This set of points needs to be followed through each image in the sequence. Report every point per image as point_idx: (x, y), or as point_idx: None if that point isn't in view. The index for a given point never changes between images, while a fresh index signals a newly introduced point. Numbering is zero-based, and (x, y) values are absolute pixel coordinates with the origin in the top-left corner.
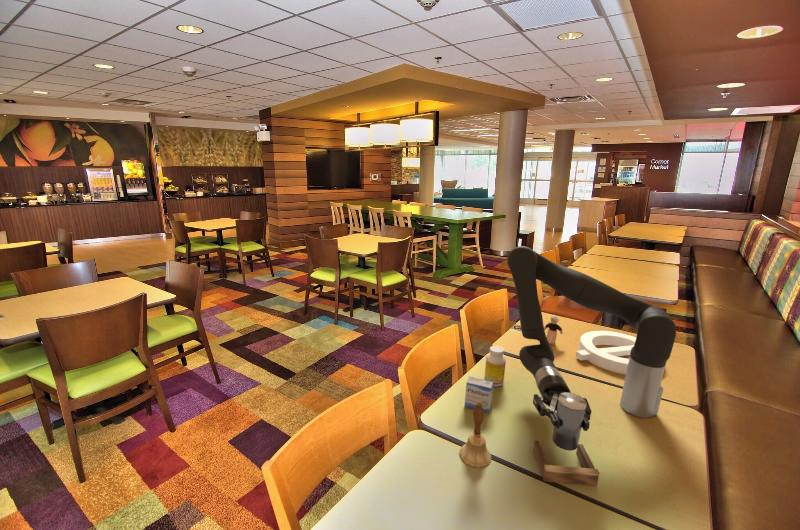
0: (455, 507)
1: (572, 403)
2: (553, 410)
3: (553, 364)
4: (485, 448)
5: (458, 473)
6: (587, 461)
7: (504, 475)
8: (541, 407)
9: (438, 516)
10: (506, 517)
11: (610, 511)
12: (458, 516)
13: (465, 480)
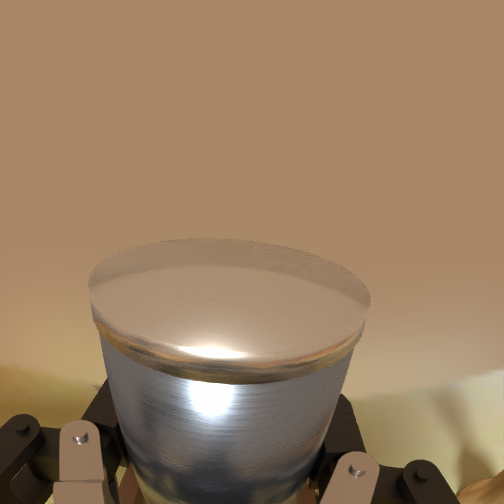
0: (469, 399)
1: (252, 257)
2: (344, 458)
3: None
4: (490, 492)
5: (497, 454)
6: (130, 501)
7: None
8: (436, 469)
9: (480, 383)
10: (391, 401)
11: None
12: (458, 389)
13: (480, 445)
